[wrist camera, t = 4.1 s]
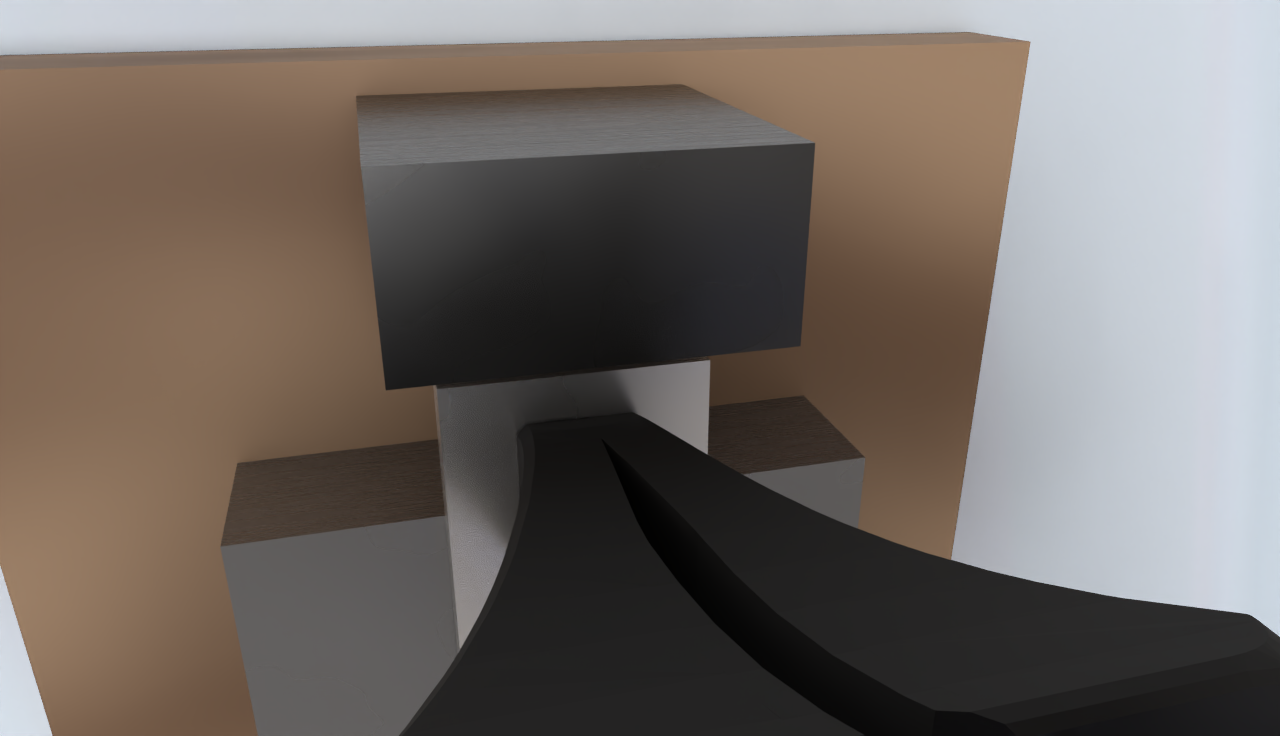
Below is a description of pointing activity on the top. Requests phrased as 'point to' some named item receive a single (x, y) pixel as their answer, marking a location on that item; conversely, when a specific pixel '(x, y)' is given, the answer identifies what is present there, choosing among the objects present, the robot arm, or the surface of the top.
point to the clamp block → (520, 355)
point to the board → (347, 315)
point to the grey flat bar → (488, 455)
